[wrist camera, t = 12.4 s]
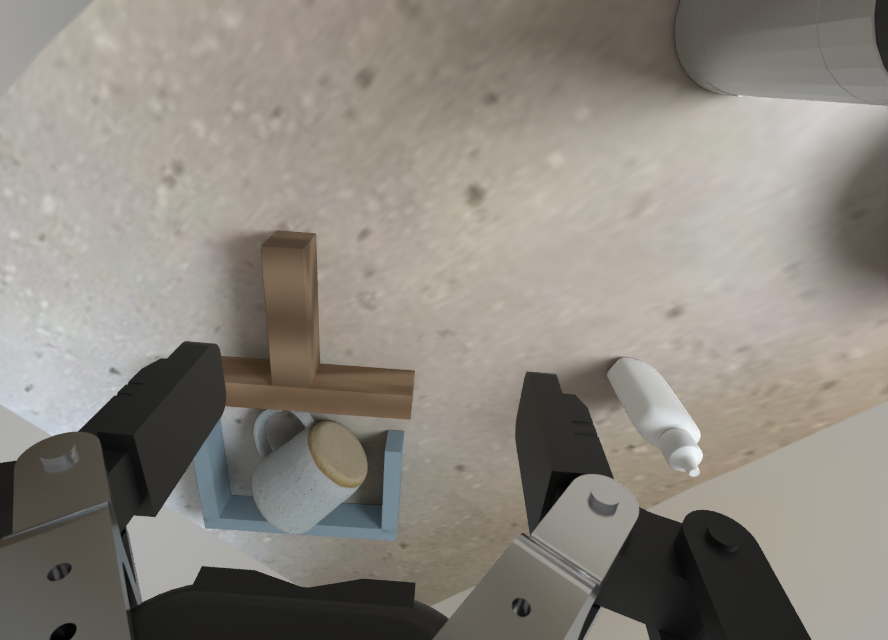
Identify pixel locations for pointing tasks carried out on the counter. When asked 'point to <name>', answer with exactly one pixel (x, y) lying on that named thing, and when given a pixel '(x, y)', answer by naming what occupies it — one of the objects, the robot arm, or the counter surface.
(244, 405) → the scraper
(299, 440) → the ceramic mug
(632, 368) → the eye dropper bottle
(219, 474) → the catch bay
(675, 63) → the counter surface
